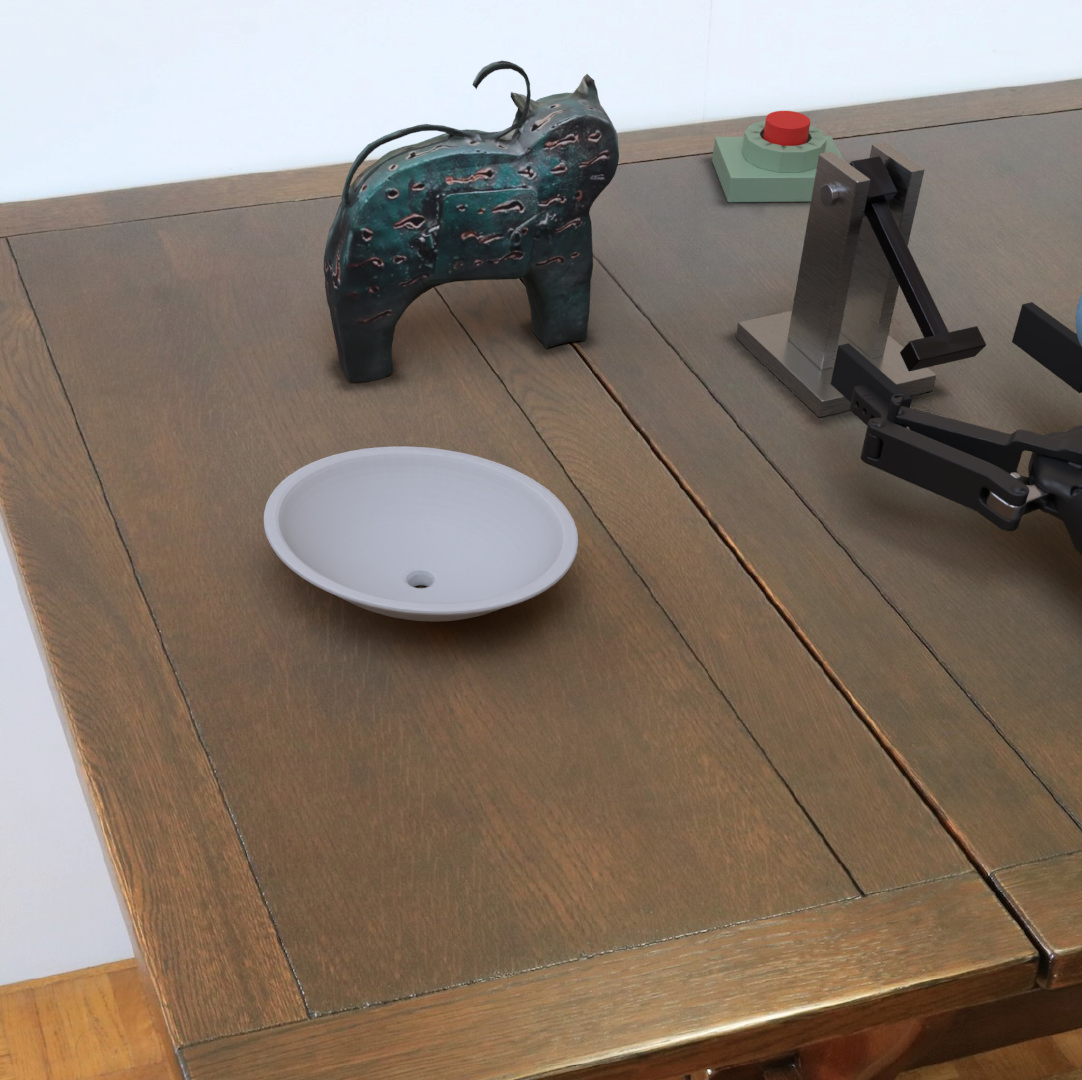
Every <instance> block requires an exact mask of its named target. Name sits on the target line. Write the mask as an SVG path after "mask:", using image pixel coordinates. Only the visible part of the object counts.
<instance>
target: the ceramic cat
mask: <svg viewBox="0 0 1082 1080" xmlns="http://www.w3.org/2000/svg"><path fill="white" fill-rule="evenodd" d="M501 70H512V71H514V72H517V73H518V74H519V75H521V77H522V78H523V79H524V81H525V86H526V95H525V94H521V93H517V92H513V91H510V98H511V100H512V103H513V104H514V105H515V107H516V109H517V110H516V113H515V115H514V119H513V121H512V123H511V125H510V126H508V127H507V128H505V129H503V130H499V131H485V130H479V129H467V128H465V129H458V128H455V127H450V126H446V125H441V124H429V123H424V124H423V123H422V124H418V125H417V124H416V125H414V126H410V127H406V128H401V129H398V130H395V131H393V132H391V133H388V134H385V135H383V136H381V137H379V138H377V139H376V140H373V141H372V142H370V143H369V144H366V146H365V147H364V148H363V149H362V150H361V151H360V152H359V154H358V155H357V156H356V158H355V159H354V161H353V163H352V164H351V166H350V168H349V171H348V173H347V176H346V179H345V182H344V186H343V189H342V192H341V199H340V200H341V202H340V203H339V206H338V208H337V211H336V214H335V216H334V218H333V222H332V223H331V226H330V228H329V230H328V234H327V237H326V238H327V239H326V243H325V249H324V254H323V274H324V289H325V295H326V302H327V306H328V309H329V315H330V321H331V326H332V330H333V335H334V341H335V345H336V351H337V357H338V358H337V359H338V363H339V366H340V367H341V370H342V371H343V372H344V373H345V376H346V378H347V380H348V382H350V383H361V382H371V381H375V380H381V379H384V378H387V377H389V376H391V375H392V374H393V369H394V366H393V344H394V338H395V336H394V335H395V331H396V327H397V325H398V322H399V321H400V319H401V318H402V316H403V315H404V313H405V312H406V310H407V309H408V307H410V305H411V304H412V303H413V302H414V301H416V300H417V299H418V298H419V297H421V296H422V295H424V294H425V293H427V292H428V291H430V290H431V289H433V288H436V287H438V286H439V287H440V286H442V285H446V284H451V283H457V282H470V281H494V280H495V281H498V280H501V281H502V280H519V279H521V281H522V282H523V286H524V287H525V292H526V295H527V299H528V300H527V301H528V304H529V309H530V319H531V329H532V331H533V333H534V335H535V336H536V337H537V338H538V339H539V340H540V341H541V343H542V344H543V345H544V347H545V349H548V348H553V347H557V346H559V345H562V344H568V343H573V342H584V341H586V339H587V336H588V329H589V327H588V326H589V319H590V318H589V317H590V308H591V287H592V285H591V284H592V275H593V269H594V252H593V251H594V250H593V233H592V232H593V228H592V219H591V215H590V213H591V212H590V211H591V208H592V206H593V203H594V202H595V201H596V200H597V199H598V198H599V196H600V195H601V193H602V192H603V191H604V190H605V189H606V188H607V187H608V186H609V185H610V183H611V182H612V180H613V178H614V177H615V176H616V173H617V169H618V166H619V161H620V151H619V150H620V149H619V137H618V132H617V129H616V128H615V126H614V124H613V122H612V120H611V118H610V117H609V115H608V113H607V112H606V110H605V109H604V107H603V106H602V105H601V101H600V99H599V93H598V89H597V86H596V82H595V79H594V78H592V77H591V75H589V74H588V73H586V74H585V75H584V76H583V77H582V79H581V81H580V83H579V85H578V86H577V87H576V88H575V90H574V91H573V92H561V93H554V94H551V95H547V96H543V97H541V98H540V97H539V98H538V99H537V100H534V99H532V98H531V82H530V79H529V76H528V74H527V73H526V71H525V70H524V69H523V68H522V67H521V66H520V65H518V64H516V63H513V62H511V61H508V60H498V61H494V62H491V63H489V64H487V65H484V66H483V67H482V68H481V69H480V70H479V72H478V73H477V74H476V76H475V77H474V79H473V81H472V86H473V88H474V89H475V90H477V89H478V87H479V85H480V84H481V83H482V82H483V81H484V80H485V78H487V77H488V76H489V75H490V74H492V73H494V72H496V71H501ZM420 132H440V133H442V134H439V135H436V136H434V137H431V138H428V139H425V140H423V141H420V142H417V143H413V144H409V145H404V146H401V147H397V148H395V149H393V150H389V151H388V152H386V153H385V154H383V155H382V156H381V157H380V158H379V159H378V160H376V161H375V162H373V163H372V164H371V165H369V166H367V167H366V168H365V169H364V170H362V172H361V173H359V174H358V175H357V176H356V178H355V179H354V180H353V178H354V175H355V174H356V173H357V171H358V169H359V168H360V166H361V165H362V164H363V163H364V162H365V160H366V159H367V158H368V157H369V155H370V154H372V153H373V152H374V151H375V150H376V149H378V148H379V147H381V146H383V145H385V144H387V143H389V142H392V141H395V140H398V139H401V138H403V137H407V136H408V135H411V134H416V133H420ZM352 181H353V182H352Z"/></svg>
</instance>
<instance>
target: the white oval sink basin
mask: <svg viewBox="0 0 1082 1080" xmlns="http://www.w3.org/2000/svg"><path fill="white" fill-rule="evenodd" d="M263 530H264V533H265V535H266V538H267V541H268V542H269V544H270V547H271V549H272V550H273V551H274V553H275V555H276V556H277V557H278V558H279V559H280V560H281V561H282V562H283V564H284V565H285V566H287V567H288V568H289V569H290V570H291V571H292V572H294V573H295V574H296V575H298V576H299V577H300V578H301V579H302V580H305V581H307V582H308V583H310V584H311V585H312V586H315V587H316V588H319V589H321V590H322V591H324V592H327V593H329V594H331V595H334V596H336V597H338V598H339V599H342V600H344V601H346V602H347V603H350V604H351V605H354V606H356V607H359V608H361V609H364V610H366V611H369V612H372V613H376V614H378V615H379V614H380V615H382V616H385V617H391V618H395V619H401V620H407V621H415V622H451V621H461V620H465V619H471V618H476V617H480V616H485V615H487V614H490V613H494V612H496V611H499V610H501V609H504V608H508V607H512V606H515V605H518V604H521V603H524V602H525V601H528V600H530V599H531V600H532V599H533V598H535V597H537V596H539V595H540V594H542V593H544V592H547V590H549V589H550V588H552V587H554V586H555V585H556V584H558V582H559V581H561V580H562V579H563V577H564V576H565V575H566V574H567V573H568V572H569V570H570V569H571V567H572V565H573V563H574V562H575V559H576V557H577V554H578V549H579V533H578V528H577V525H576V523H575V521H574V518H573V516H572V514H571V512H570V511H569V510H568V508H567V507H566V505H565V503H563V502H562V501H561V500H560V499H559V498H558V496H556V495H555V494H554V493H553V492H552V491H551V490H549V489H548V488H547V487H545V486H544V485H542V484H541V483H540V482H538V481H537V480H535V479H533V478H532V477H530V476H528V475H526V474H525V473H522V472H521V471H519V470H516V469H514V468H512V467H510V466H507V465H505V464H502V463H500V462H497V461H494V460H490V459H487V458H485V457H481V456H477V455H474V454H470V453H464V452H460V451H455V450H449V449H444V448H443V449H442V448H436V447H427V446H426V447H424V446H409V445H408V446H407V445H406V446H405V445H404V446H403V445H401V446H397V445H394V446H377V447H368V448H366V447H365V448H359V449H353V450H347V451H343V452H340V453H336V454H332V455H329V456H326V457H323V458H320V459H316V460H315V461H313V462H310V463H308V464H306V465H304V466H302V467H300V468H298V469H296V470H295V471H293V472H292V473H290V474H289V475H287V476H286V477H285V478H284V479H283V480H281V481H280V483H279V484H277V486H276V487H275V488H274V489H273V490H272V492H271V494H270V496H269V497H268V500H267V502H266V504H265V507H264V511H263ZM416 586H417V587H416ZM418 586H425V587H418Z"/></svg>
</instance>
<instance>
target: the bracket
mask: <svg viewBox="0 0 1082 1080" xmlns="http://www.w3.org/2000/svg"><path fill="white" fill-rule="evenodd" d="M878 156H880V157H881V159H882V161H883V163H884V165H885V167H886V169H887V171H888V173H889V175H890V178H891V180H892V182H893V184H894V186H895V188H896V190H897V193H896V195H895V196H894V197H893V199H892V200H891V201H890V202H889V204H888V207H889V209H890V211H891V213H892V215H893V217H894V219H895V221H896V223H897V226H898V228H899V230H900V232H901V234H902V236H903V238H904V240H905V242H906V244H907V246H908V247H909V242H910V238H911V234H912V230H913V229H912V228H913V224H914V220H915V216H916V210H917V206H918V203H919V202H918V201H919V198H920V194H921V193H920V192H921V188H922V183H923V179H924V175H925V171H926V169H925V168H924V167H922V166H921V165H919V164H918V163H917V162H915V161H913V160H912V159H911V158H909V157H908V156H906V155H905V154H903V153H901V152H900V151H899V150H898V149H896V148H895V147H893V146H892V145H890V144H888V143H887V142H886V141H883V142H876V143H872V144H871V148H870V152H869V158H872V157H878ZM843 159H844V158H843ZM843 159H842V158H840V157H839V156H837V155H836V154H835V153H833V152H826V153H821V154H819V157H818V163H817V169H816V175H815V180H814V186H813V192H812V198H811V202H810V205H809V210H808V216H807V222H806V227H805V228H806V229H805V234H804V239H803V245H802V251H801V256H800V261H799V268H798V274H797V279H796V280H797V281H796V286H795V292H794V297H793V303H792V309H791V310H789V311H784V312H779V313H775V314H770V315H766V316H761V317H756V318H752V319H747V320H741V321H738V322H737V327H736V332H735V334H736V335H735V339H736V340H737V341H739V342H740V344H742V345H743V347H745V348H746V349H747V350H748V351H749V352H750V353H751V354H752V355H753V356H754V357H755V358H756V359H758V361H760V363H761V364H763V366H765V367H766V368H767V369H768V371H770V372H771V373H772V374H773V375H774V376H775V378H777V379H778V380H779V381H780V382H781V383H782V384H783V385H785V386H786V387H787V388H788V390H790V391H791V392H792V394H794V395H795V396H796V397H797V398H798V399H799V400H800V401H801V402H802V403H804V404H805V406H806V407H807V408H809V409H810V411H812V413H814V414H815V415H816V416H817V417H818V418H822V417H828V416H831V415H837V414H840V413H844V412H849V411H851V408H850V404H851V402H850V401H849V400H848V399H846V398H845V397H844V396H843V395H842V394H841V393H840V392H839V391H838V390H837V389H835V388H834V387H833V386H832V385H831V379H832V374H833V369H834V364H835V359H836V354H837V349H838V346H839V345H843V344H848V343H849V344H850V345H851V346H852V347H854V348H855V349H856V350H857V351H858V352H859V353H861V354H862V355H863V356H864V357H865V358H866V359H868V360H869V361H870V362H871V363H872V364H873V365H874V366H876V367H877V368H878V369H879V370H880V371H881V372H883V373H884V374H885V375H886V376H887V377H888V378H890V379H891V380H892V381H893V382H894V383H895V384H897V385H898V386H899V387H900V388H901V389H902V390H903V391H905V392H906V393H907V394H908V395H909V396H910V397H913V396H917V395H921V394H925V393H930V392H932V391H933V390H934V386H935V382H936V378H937V374H936V373H935V372H934V371H932V369H930V367H927V368H923V369H918V370H914V371H910V372H909V371H908V369H907V367H906V365H905V363H904V361H903V359H902V356H901V354H900V352H901V350H902V349H903V348H904V347H905V346H902V345H901V344H900V343H899V342H898V341H896V339H894V338H893V337H892V336H891V335H890V334H889V332H890V328H891V324H892V319H893V315H894V310H895V306H896V301H897V296H898V293H899V288H900V286H899V284H898V282H897V279H896V277H895V275H894V273H893V271H892V269H891V267H890V265H889V263H888V261H887V258H886V256H885V254H884V252H883V250H882V248H881V246H880V244H879V242H878V239H877V237H876V235H875V233H874V231H873V229H872V227H871V225H870V223H869V221H868V218H867V217H863V214H864V209H865V204H866V199H867V194H868V189H869V184H870V179H869V178H868V177H866V176H865V175H864V174H862V173H861V172H860V171H858V170H857V169H855V168H854V167H853V166H851V165H850V163H849V162H847V161H846V160H845V159H844V160H843Z"/></svg>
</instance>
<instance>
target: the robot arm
mask: <svg viewBox="0 0 1082 1080" xmlns="http://www.w3.org/2000/svg"><path fill="white" fill-rule="evenodd" d="M1074 319H1075V331H1073V330H1071V329H1070V328H1069V327H1067V326H1066V325H1065V324H1063V323H1062V322H1060V321H1059V320H1058V319H1056V318H1055V317H1054V316H1052V315H1051V314H1049V313H1048V312H1046V311H1045V310H1043V309H1042V308H1041V307H1040V306H1038V305H1037V304H1036V303H1034V302H1032V301H1031V302H1026V303H1022V305H1021V308H1020V311H1019V314H1018V318H1017V322H1016V325H1015V328H1014V333H1013V336H1012V340H1011V343H1012V344H1014V345H1015V346H1016V347H1018V348H1019V349H1020V350H1022V351H1023V352H1024V353H1026V355H1028V356H1029V357H1031V358H1032V359H1034V360H1035V361H1036V362H1037V363H1039V364H1040V365H1041V366H1043V367H1044V368H1046V370H1047V371H1049V372H1051V373H1052V374H1053V375H1055V376H1056V377H1057V378H1058V379H1060V380H1061V381H1063V382H1064V383H1065V384H1066V385H1068V386H1069V387H1070V388H1072V389H1073V390H1074V391H1076V392H1077V393H1078V394H1081V393H1082V293H1080V297H1079V299H1078V303H1077V306H1076V312H1075V318H1074ZM831 385H832V386H833V387H834V388H835V389H837V390H838V391H839V392H840V393H841V394H842V395H843V396H844V397H845V398H846V399H848V400H849V401H850V402H851V404H850V408H851V410H850V411H851V413H852V414H853V415H855V416H856V417H857V418H858V419H859V420H861V421H862V423H864V424H865V425H866V426H867V427H866V432H865V436H864V440H863V445H862V448H861V454H860V460H861V461H862V462H863V463H864V464H867V465H869V466H871V467H873V468H876V469H879V470H880V471H883V472H885V473H888V474H890V475H892V476H894V477H896V478H898V479H901V480H903V481H906V482H908V483H910V484H912V485H916V486H917V487H920V488H922V489H924V490H927V491H929V492H931V493H933V494H935V495H938V496H940V497H943V498H944V499H947V500H949V501H952V502H954V503H956V504H958V505H961V506H963V507H965V508H967V509H970V510H973V511H974V512H977V513H978V514H979V515H980V516H982V517H983V518H985V519H986V520H988V521H989V522H990V523H991V524H993V525H994V526H995V527H997V528H998V529H1000V530H1001V531H1005V532H1015V531H1016V530H1018V529H1019V526H1020V522H1021V519H1022V517H1023V516H1025V515H1028V514H1032V513H1033V512H1035V511H1038V510H1039V511H1041V512H1043V513H1045V514H1048V515H1049V516H1052V517H1054V518H1057V519H1058V520H1060V521H1061V522H1062V523H1063V525H1064V527H1065V528H1066V531H1067V533H1068V536H1069V538H1070V542H1071V544H1072V546H1073V548H1074V549H1075V551H1076V552H1077V553H1078V555H1080V556H1081V557H1082V424H1079V425H1075V426H1073V427H1071V428H1069V429H1068V430H1065V431H1064V430H1063V431H1052V432H1051V431H1050V432H1048V433H1044V434H1043V433H1038V432H1035V431H1031V430H1027V429H1022V428H1020V429H1016V430H1015V431H1013V432H1011V433H1008V432H1005V431H1000V430H996V429H992V428H989V427H985V426H981V425H977V424H973V423H970V422H966V421H962V420H958V419H954V418H950V417H946V416H942V415H939V414H935V413H931V412H927V411H923V410H920V409H916V408H913V407H911V404H912V400H913V396H909V395H908V394H907V393H906V392H905V391H903V390H902V389H901V388H900V387H899V386H898V385H897V384H895V383H894V382H893V381H892V380H891V379H890V378H888V377H887V376H886V375H885V374H884V373H883V372H881V371H880V370H879V369H878V368H877V367H876V366H874V365H873V364H872V363H871V362H870V361H869V360H868V359H866V358H865V357H864V356H863V355H862V354H861V353H859V352H858V351H857V350H856V349H855V348H854V347H852V346H851V345H850V344H849V343H848V344H843V345H839V346H838V349H837V354H836V359H835V364H834V369H833V374H832V379H831ZM1023 452H1031V455H1030V458H1029V461H1028V464H1027V471H1028V476H1026V475H1022V474H1020V473H1019V471H1018V468H1019V465H1020V461H1021V459H1022V455H1023Z"/></svg>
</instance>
